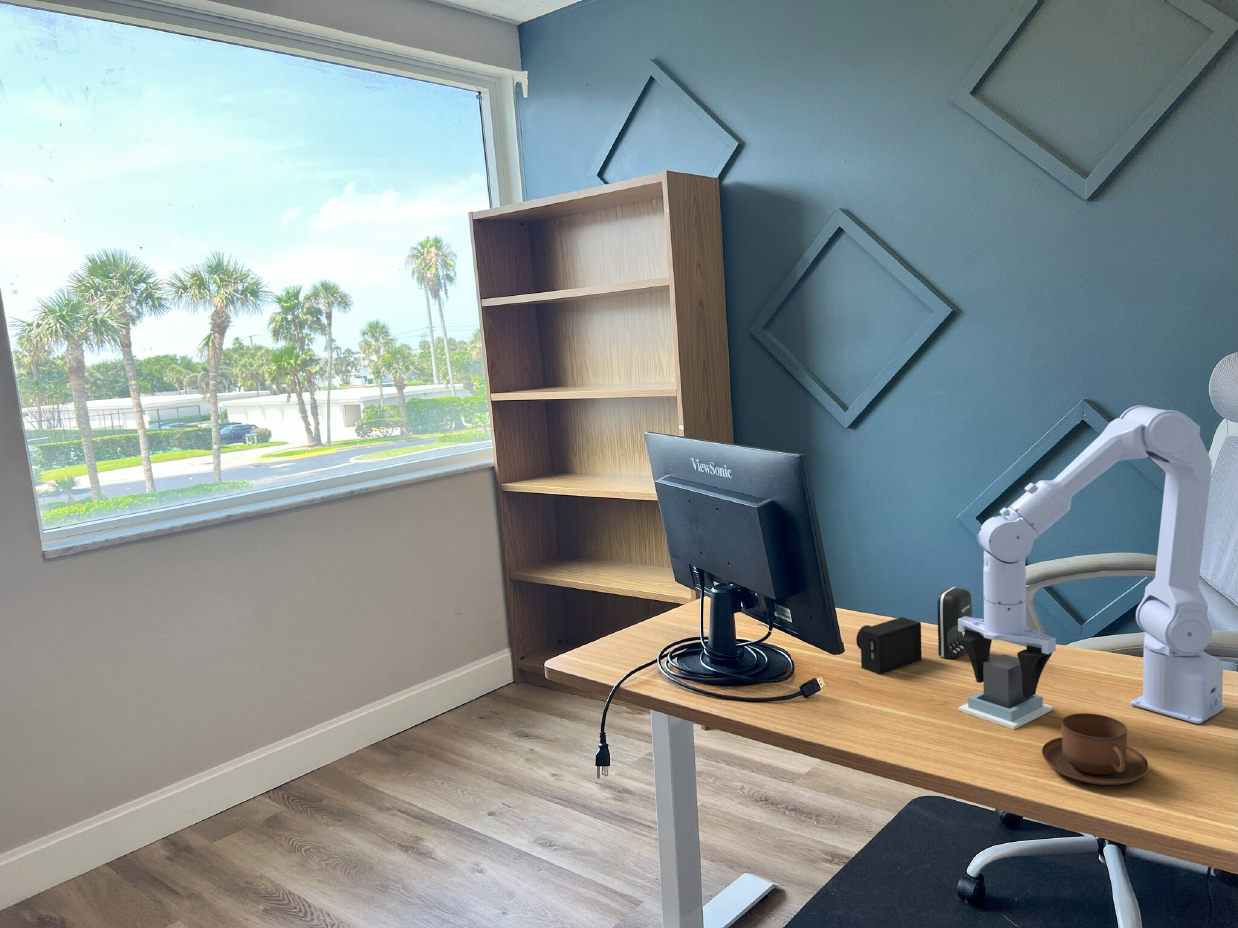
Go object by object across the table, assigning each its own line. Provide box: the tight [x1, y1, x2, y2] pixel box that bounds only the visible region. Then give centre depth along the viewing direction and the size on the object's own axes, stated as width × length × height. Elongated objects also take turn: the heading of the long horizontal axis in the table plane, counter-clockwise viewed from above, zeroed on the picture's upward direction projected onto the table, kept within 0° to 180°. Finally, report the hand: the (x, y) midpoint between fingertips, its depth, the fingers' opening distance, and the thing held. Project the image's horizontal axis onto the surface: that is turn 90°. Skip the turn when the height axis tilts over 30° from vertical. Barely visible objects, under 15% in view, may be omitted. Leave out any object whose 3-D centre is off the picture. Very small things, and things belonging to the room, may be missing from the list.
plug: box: [983, 653, 1028, 709], centre depth 135 cm, size 4×5×7 cm
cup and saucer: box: [1041, 712, 1149, 786], centre depth 116 cm, size 12×12×6 cm
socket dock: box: [957, 690, 1054, 730], centre depth 135 cm, size 9×10×2 cm
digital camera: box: [856, 616, 923, 676], centre depth 157 cm, size 10×5×7 cm, turn 122°
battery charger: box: [936, 586, 973, 659], centre depth 159 cm, size 7×4×11 cm, turn 137°
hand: (1005, 687), depth 135 cm, fingers open, 7 cm apart
